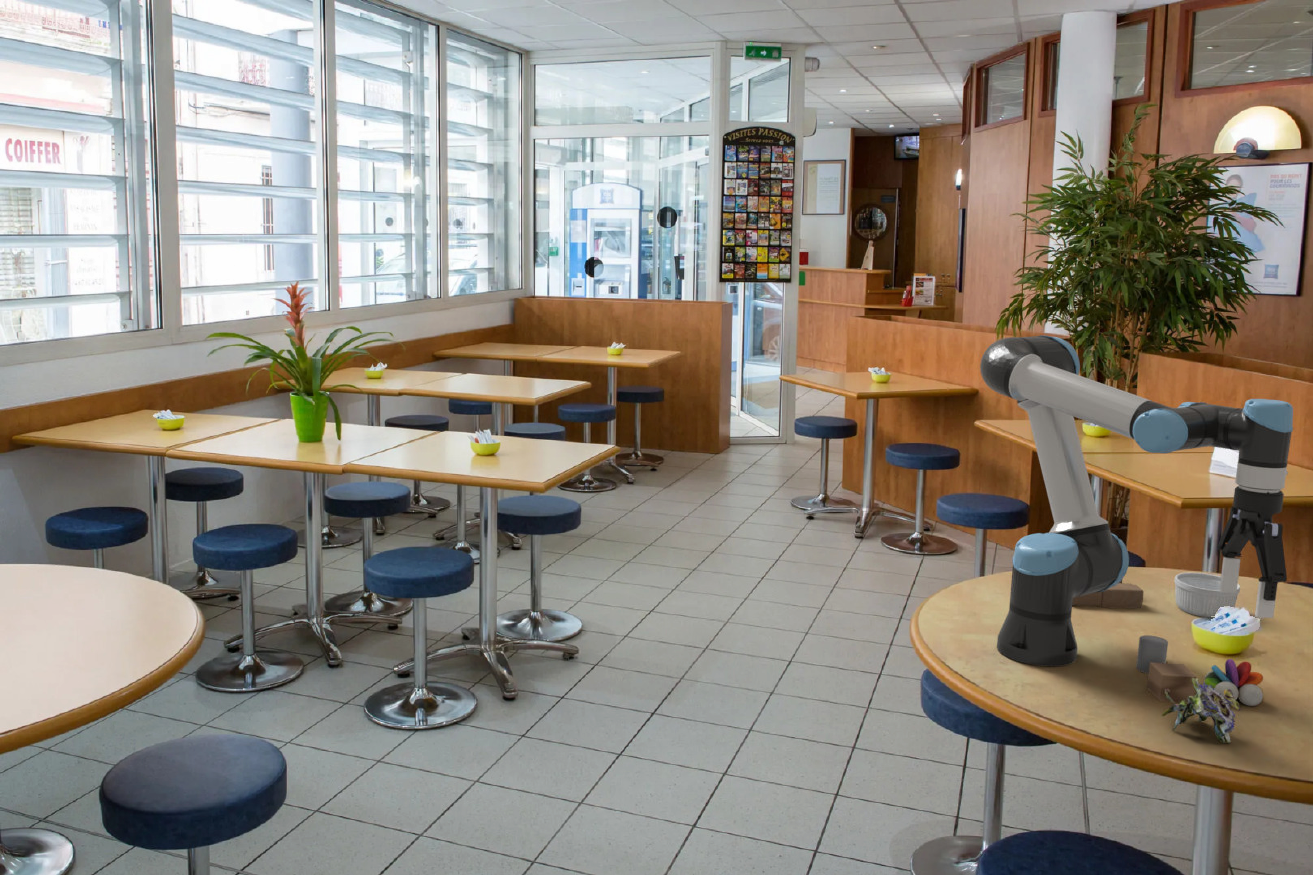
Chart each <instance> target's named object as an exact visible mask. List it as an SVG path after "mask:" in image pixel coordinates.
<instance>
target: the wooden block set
mask: <svg viewBox="0 0 1313 875" xmlns="http://www.w3.org/2000/svg"><path fill="white" fill-rule="evenodd" d="M1143 600H1144V590H1143V589H1142V588H1141V587H1140V586H1138V585H1137V584H1133V583H1125V582H1123V579H1122V580H1121V581H1120V582H1119V583H1118V584H1117V585H1115V586H1113V587H1111V588H1108V589H1107V590H1105V591H1102V592H1096V593H1090V594H1086V595H1081V596H1077V597H1073V603H1072V607H1073V606H1076V607H1077V606H1080V607H1101V608H1115V609H1117V608H1118V609H1119V608H1121V609H1142V608H1143Z"/></svg>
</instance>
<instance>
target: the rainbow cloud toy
mask: <svg viewBox="0 0 1313 875" xmlns="http://www.w3.org/2000/svg"><path fill="white" fill-rule="evenodd" d="M1224 667H1225V668H1224V671H1225V673H1224V672H1223V671H1222V670H1221V668H1219V667H1218V666H1217V665H1215V664H1213V665H1212V666H1211V671H1208V672H1207V673H1206V674H1205V676H1204V679H1203V681H1204V683H1205V685H1209V686H1210V685H1211V686H1212V689H1216V691H1217V692H1218V693H1220V692H1221V696H1222V698H1224V697H1223V694H1224V691H1225V690H1227V691H1228V689H1230V690H1231V691H1232V693H1233V696H1234V697H1235V700H1236V701H1237V699H1238V701H1240V702H1241V704H1243V705H1245V706H1248V707H1249V706H1250V707H1254V706H1258V705H1259V704H1260V703H1262V702H1263V698H1264V690H1263V688H1261V687H1259V685H1260V684H1261V683H1262V682H1263V680H1264V676H1263V674H1262V673H1260V672H1256V671H1255V672H1254V671H1252V664H1251V663H1250V662H1249V661H1243V662H1240V663H1239V664H1238V665H1236V663H1235V660H1233V659H1232V658H1229V659H1226V660H1225V663H1224ZM1224 700H1225V699H1224ZM1225 701H1226V700H1225Z"/></svg>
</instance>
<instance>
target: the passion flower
mask: <svg viewBox="0 0 1313 875" xmlns="http://www.w3.org/2000/svg"><path fill="white" fill-rule="evenodd" d="M1191 680H1192V684H1193V687H1194V689H1195V697H1194V698H1193V696H1190V697H1189V696H1188V702H1186V701H1185V700H1182V702H1179V703H1176V702H1173V700H1172V699H1171V698H1170V697H1169V693H1170V692H1171V691H1170V690H1169V689H1165V694H1166V697H1167V699H1170V700H1171V701H1170V702H1171V703H1172V705H1171V706H1170V707H1169V708H1167V709H1166V710H1164V712H1163V713H1162V714H1161V717H1165V716H1167V715H1169V714H1171V713H1174V712H1176V711H1177V717H1176V720H1175V723H1174V726H1173V728H1172V729H1171V730H1172V731H1174V730H1175V729H1176V728H1177V727H1178V726H1179V725H1182V724H1184V723H1186V721H1187V720H1188V719H1189V718H1190V717H1193V716H1195V715H1198V723H1199V722H1200V723H1201V722H1205V721H1206V720H1207V719H1208V718H1211V720H1212V721H1213V727H1214V731H1213V732H1214V733H1215V736H1216V738H1217V740H1218V741H1219V742H1221V743H1222V744H1230V743H1231V738H1230V737H1231V736H1230V733H1231V732H1233V730H1235V725H1236V721H1235V718H1236V714H1235V712H1234V711H1233V710H1231V707H1233V708H1234V709H1235V710H1237V711H1239V712H1240V711H1242V710H1241V709H1242V708H1241V706H1240V703H1239V702H1238V701H1237V699H1236V700H1235V697H1234V696H1233V693H1232V691H1231V690H1230V689H1228V691H1227V690H1225V691H1224V694H1223V697H1224V698H1222V696H1221V692H1220V693H1218V692H1217V691H1216V689H1212V686H1211V685H1210V686H1209V685H1205V683H1204V682H1202V683H1201V684H1200V683H1199V680H1200V679H1199V678H1198V677H1197V678H1196V679H1194V678H1192V679H1191ZM1224 699H1225V700H1226V701H1225V700H1224ZM1230 706H1231V707H1230ZM1225 742H1226V743H1225Z"/></svg>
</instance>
